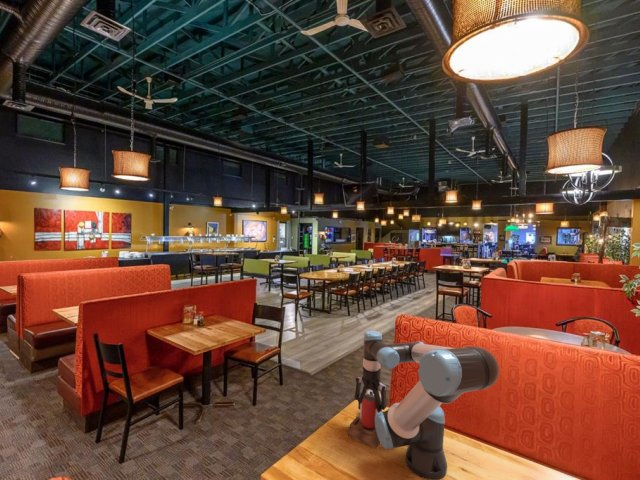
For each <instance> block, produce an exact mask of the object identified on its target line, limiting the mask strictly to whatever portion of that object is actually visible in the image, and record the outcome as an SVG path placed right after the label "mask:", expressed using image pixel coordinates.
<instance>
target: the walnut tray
mask: <svg viewBox="0 0 640 480" xmlns="http://www.w3.org/2000/svg"><path fill="white" fill-rule="evenodd" d="M348 438H351V439H353V440H355V441H358V442H360V443H362V444H364V445H366V446H369V447H371V448H373V449H375V450H378V448H380V445H382V444H381V443H380V441H379V439H378V436H377V432H376V428H372V429H368V428H365V427H364V426H363V425H362V424H361V419H360V413H359V414H358V415H357V416H356V417H355V418H354V419H353V420H352V421H351V422H350V423H349V426H348Z"/></svg>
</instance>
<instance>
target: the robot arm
mask: <svg viewBox="0 0 640 480" xmlns="http://www.w3.org/2000/svg"><path fill="white" fill-rule="evenodd" d="M363 338H364V339H363V358H362V359H363V360H362V376H360V375H359V376H357V377H356V378H355V383H356V385H355V391H354V392H355V393H354V400H355V401H357V402H358V403H357V404H358V405H357V407H358V410H359V414H360V419H361V416H362V400H363V398H364V395H366V393H367V391H368V390H369V389H370V390H372V391H373V394H374V396H375V400H376V404H377V409H376V415H375V428H376V432H377V436H378V439H379V441H380V443H381V444H380V445H381V446H382V448H384V449H386V450H390V449H391V450H394V449H397V448H401V447H406V446H407V448H406V450H405V455H404V462H405V464H406V466H407V468H408V469H409V470H410V471H411V472H412V473H413V474H415V475H416V476H418V477H421V478H422V479H426V480H440V479H442V478H443V479H444V477H445V476H446V475H447V473H448V472H447V471H448V462H447V460H446V459H447V458H446V454H445V452H444V437H445V436H444V435H445V423H446V421H445V411H444V410H443V408H442V407H441V405H443V404H444V405H445V404H447V405H448V404H451V403H453V402H454V401H456V400H457V399H458V398H460V396H461V395H463V394H464V393H468V392H474V391H475V392H476V391H482V390H486V389H489V388H490V387H492V386H494V384H496V382H497V381H498V379H499V376H500V365H499V363H498V361H497V359H496V356H494V354H492V353H491V351H489V350H487V349H485V348H484V347H480V346H463V347H448V346H442V345H434V344H426V343H424V342H423V341H411V342H401V343H400V342H399V343H388V344H387V343H386V342H384V341H383V335H382V332H380V331H378V330H373V329H372V330H367V331H365V332H364V337H363ZM404 363H416V364H418V366H419V368H418V370H417V371H418V372H417V373H418V378H419V380H418V381H417V383H416V384H415V385H414V386H413V388H412V389H410V391H409V392H408V393H407V395H405V397H404V398H403V399H402V400H401V401H400V402H395V403H393V404H391V406H390V407H388V409H387V410H385V409H386V408H387V388H388V386H387V384H386V383H385V384H383V383H382V382H381V372H382V371H381V366H383V367H384V368H386V369H387V370H392V369H395V367H397V366H398V365H399V364H404ZM362 383H363V387H362ZM361 387H362V391H361ZM379 387H380V389H379ZM379 392H380V394H381V399H380V395H379Z"/></svg>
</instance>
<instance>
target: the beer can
mask: <svg viewBox="0 0 640 480" xmlns="http://www.w3.org/2000/svg"><path fill="white" fill-rule="evenodd" d="M376 409H377V404H376V400H375V396H374V395H371V394H365V395H364V398H363V400H362V416H361V424H362V425H363V426H364V427H365V428H368V429H372V428H375V415H376Z"/></svg>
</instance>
